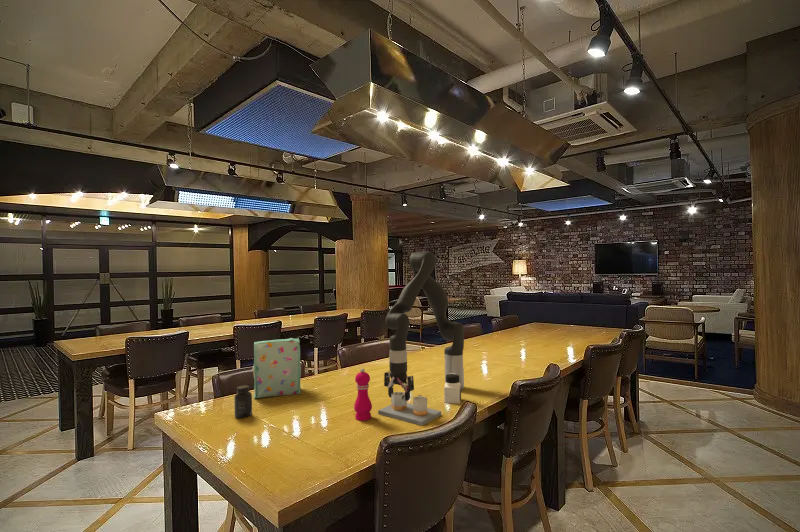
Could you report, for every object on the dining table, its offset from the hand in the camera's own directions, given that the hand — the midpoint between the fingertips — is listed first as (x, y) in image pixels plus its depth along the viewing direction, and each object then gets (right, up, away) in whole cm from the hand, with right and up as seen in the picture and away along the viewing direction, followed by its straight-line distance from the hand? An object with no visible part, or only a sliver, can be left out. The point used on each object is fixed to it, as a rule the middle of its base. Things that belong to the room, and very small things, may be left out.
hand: (399, 398), depth 165 cm
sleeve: (0, -4, 0) cm, 4 cm away
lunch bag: (-60, -7, +29) cm, 67 cm away
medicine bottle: (+24, -5, +12) cm, 28 cm away
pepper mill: (-15, -6, -7) cm, 17 cm away
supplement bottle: (-65, -7, -2) cm, 65 cm away
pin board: (+4, -5, -4) cm, 8 cm away
